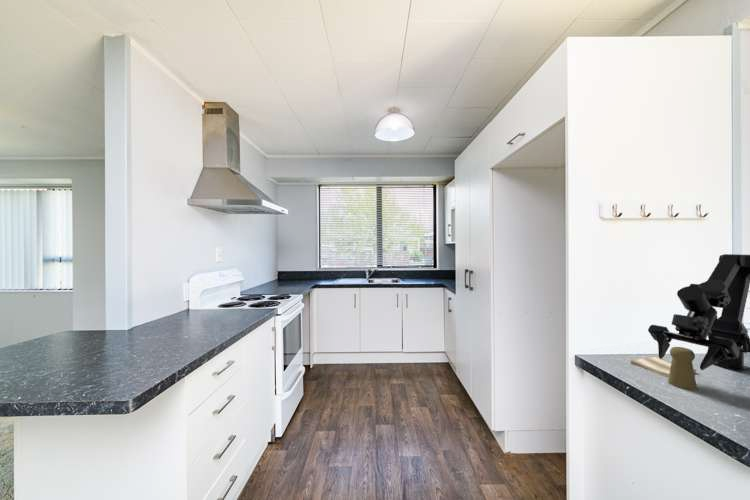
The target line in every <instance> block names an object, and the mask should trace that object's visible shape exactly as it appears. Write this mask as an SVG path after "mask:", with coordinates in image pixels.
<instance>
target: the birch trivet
mask: <svg viewBox="0 0 750 500" xmlns="http://www.w3.org/2000/svg"><path fill="white" fill-rule="evenodd" d="M671 363H672V361H669V360H667V359H663V358H662V359H660V358H659V357H657V356H654V357H646V358H639V359H633V360H630V364H631V365H634V366H637V367H639V368H642V369H645V370H648V371H650V372H653V373H657V374H660V375H662V376H665V377H668V378H669V374H670V368H671ZM693 369H694V374H696V373H697V369H695V368H693Z"/></svg>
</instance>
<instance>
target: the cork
mask: <svg viewBox="0 0 750 500" xmlns="http://www.w3.org/2000/svg"><path fill="white" fill-rule="evenodd" d="M669 354H670V357H672V358H671V362H672V363H671V368H670V374H669V377H668V380H667V383H668V384H669V385H671V386H674V387H676V388H679V389H683V390H689V391H694V390H697V389H698V387H697V381H696V375H695V373H694V369H695V368H694V365H693V361H694V360H695V358H696V355H695V353H694V351H693V350H692V349H691V348H686V347H684V346H683V347H682V346H672V347H671V348H670V350H669Z"/></svg>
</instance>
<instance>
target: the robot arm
mask: <svg viewBox="0 0 750 500" xmlns="http://www.w3.org/2000/svg"><path fill="white" fill-rule="evenodd" d="M749 288H750V254H738V253H737V254H732V253H731V254H730V253H728V254H727V253H724V254H721V255H719V258H718V263H717V264H716V266H715V268H714V269H713V271H712V273H710V276H709V277H708V279H706V281H703V282H700V283H699V284H698V283H690V284H689V286H683V287H682V288H680V289H678V291H677V292H676V295H677V297H678V299H679V300H680V302H681V304H682V305H683V307H684V309H685V310H686V311H688V313H687V315H684V314H675V313H674V314H673V317H672V321H671V325H673V326H674V327H675V328H674V329H675V331H676V332H673V331H670V330H669V329H668V327H667V326H663V325H657V324H650V325H649V327H648V329H647V332H648V333H649V334H650V336H651V337H652V339H653V340H654V341H656V342H657V348H658V358H660V359H663V358H664V357H665V355H666V353H667V352H668V350H669V348H670V346H671V344H670V343H671V342H672V340H674V341H675V340H676V341H680V342H684V343H685V342H686V343H689V344H693V345H698V346H703V347H707V352H706V354H705V355H704V356H703V359H702V361H701V363H700V365H699V369H700V370H701V371H704V370H706V369H707V368H709V367H711V366H713V365H714V366H715V365H716V366H718V367H722V368H725V369H728V370H731V371H736V372H741V371H745V370H750V366H747V365H744V364H745V354H748V353H749V354H750V336H749V334H748V332H749V331H748V329H747V328H746V327H745V325H744V323H743V317H744V314H745V308H746V304H747V299H748V295H749ZM716 308H719V309H720V308H721V309H722V310H721V314H720V317H718V311H717V309H716ZM707 338H708V339H707Z"/></svg>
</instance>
